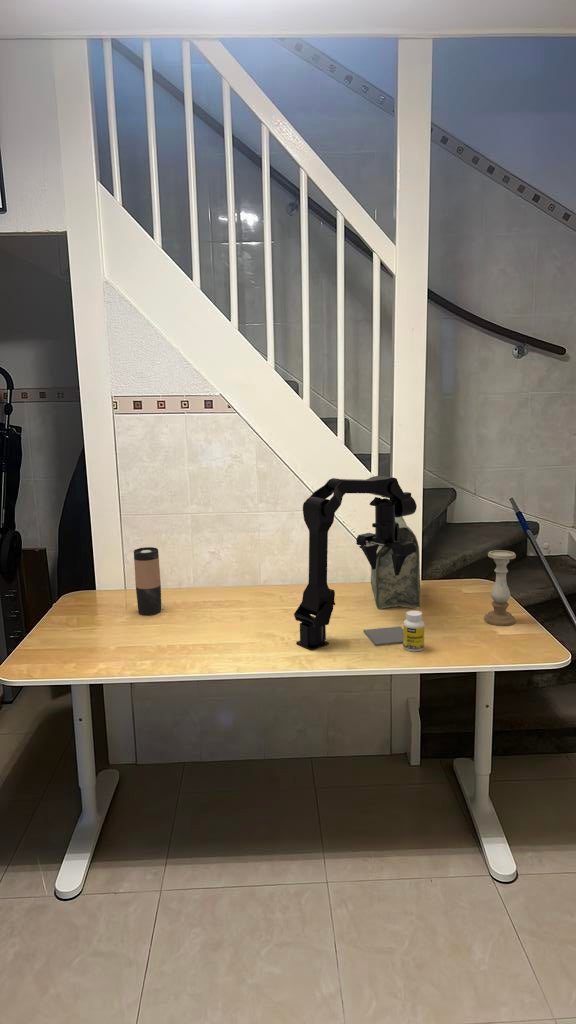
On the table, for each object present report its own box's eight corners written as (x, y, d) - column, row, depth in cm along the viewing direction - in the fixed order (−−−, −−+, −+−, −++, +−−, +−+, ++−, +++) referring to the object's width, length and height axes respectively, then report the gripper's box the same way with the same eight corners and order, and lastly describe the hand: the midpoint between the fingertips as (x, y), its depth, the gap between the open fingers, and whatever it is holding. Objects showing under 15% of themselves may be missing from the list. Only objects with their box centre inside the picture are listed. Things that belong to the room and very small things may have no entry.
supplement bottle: (404, 652, 180) (404, 616, 178) (402, 644, 185) (402, 609, 183) (425, 652, 179) (426, 616, 178) (422, 644, 185) (422, 609, 183)
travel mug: (165, 608, 220) (161, 547, 216) (158, 616, 213) (154, 553, 209) (141, 607, 221) (137, 547, 217) (134, 615, 213) (129, 553, 210)
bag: (366, 588, 235) (365, 509, 230) (413, 588, 234) (414, 509, 229) (371, 610, 213) (371, 523, 208) (424, 610, 212) (425, 522, 207)
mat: (375, 646, 184) (375, 643, 184) (363, 631, 195) (363, 629, 195) (414, 642, 186) (414, 640, 186) (400, 628, 197) (400, 626, 197)
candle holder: (518, 626, 196) (521, 557, 192) (487, 626, 197) (489, 557, 193) (511, 615, 205) (513, 549, 201) (481, 616, 205) (482, 549, 202)
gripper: (429, 520, 196) (428, 573, 199) (381, 511, 210) (381, 561, 213) (402, 526, 189) (402, 581, 192) (354, 516, 203) (355, 568, 206)
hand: (385, 572), depth 201 cm, fingers open, 9 cm apart
